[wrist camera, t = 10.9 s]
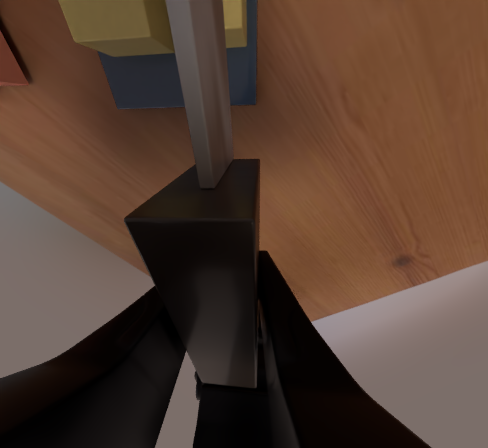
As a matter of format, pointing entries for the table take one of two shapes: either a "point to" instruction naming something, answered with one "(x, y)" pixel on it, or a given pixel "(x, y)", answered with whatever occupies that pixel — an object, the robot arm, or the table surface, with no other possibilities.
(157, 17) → the butter block
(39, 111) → the table surface
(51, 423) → the robot arm
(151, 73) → the butter dish
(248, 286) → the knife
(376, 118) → the table surface
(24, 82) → the teapot
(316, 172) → the table surface
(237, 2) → the butter slice
